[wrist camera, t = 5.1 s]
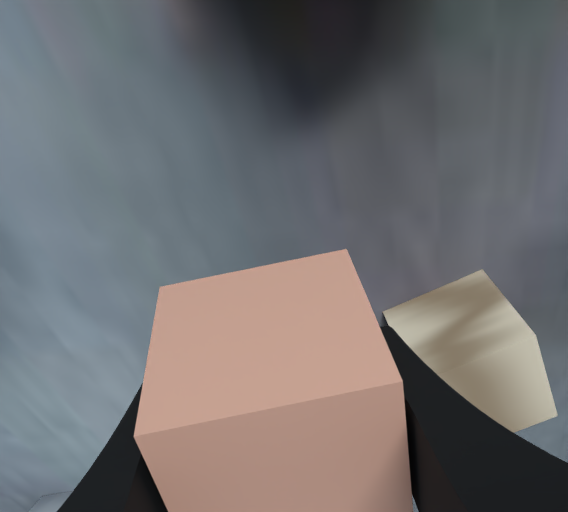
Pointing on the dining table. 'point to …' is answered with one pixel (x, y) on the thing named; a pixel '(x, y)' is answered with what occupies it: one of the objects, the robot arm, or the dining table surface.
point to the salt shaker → (50, 502)
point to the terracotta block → (274, 394)
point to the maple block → (479, 349)
